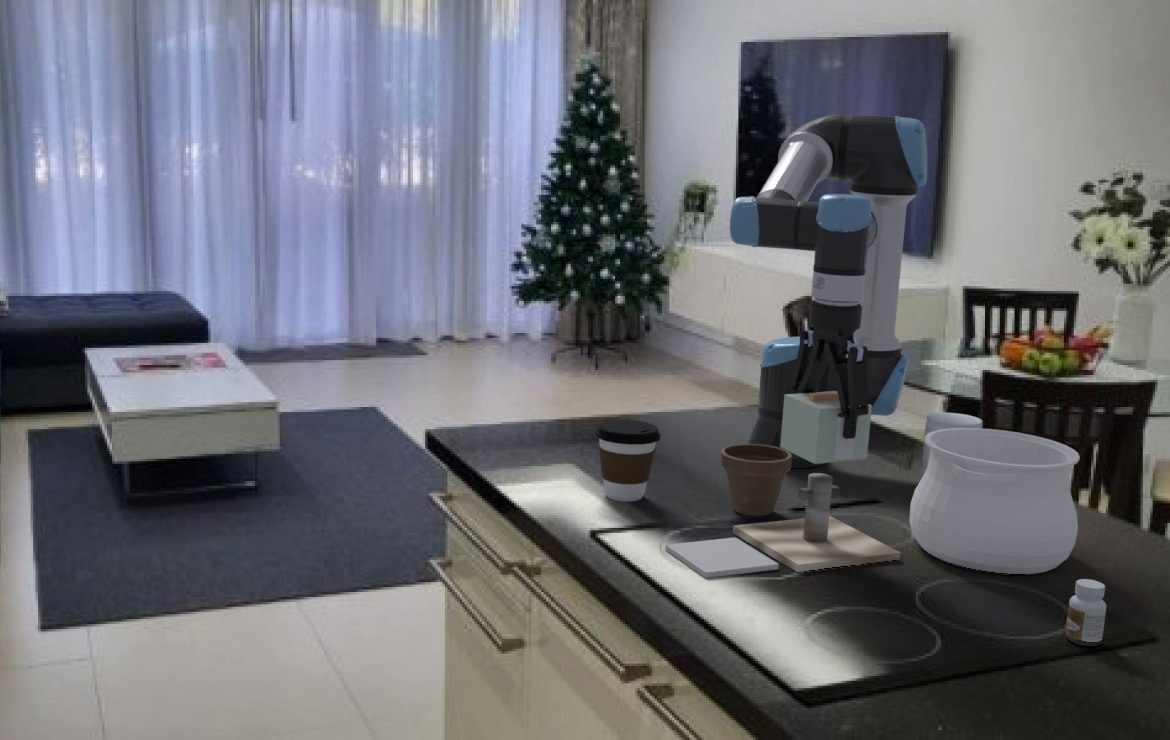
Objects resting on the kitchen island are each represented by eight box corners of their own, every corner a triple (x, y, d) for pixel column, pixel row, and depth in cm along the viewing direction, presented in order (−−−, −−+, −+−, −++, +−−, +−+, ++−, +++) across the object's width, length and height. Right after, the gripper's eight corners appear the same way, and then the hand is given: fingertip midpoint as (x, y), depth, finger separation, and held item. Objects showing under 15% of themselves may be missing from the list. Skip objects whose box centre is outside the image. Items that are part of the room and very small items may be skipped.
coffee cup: (670, 497, 215) (674, 428, 213) (627, 510, 207) (631, 438, 205) (621, 483, 223) (625, 415, 220) (578, 494, 215) (581, 424, 212)
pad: (665, 549, 189) (665, 544, 189) (735, 542, 194) (735, 537, 194) (705, 577, 179) (705, 572, 179) (778, 569, 184) (778, 563, 184)
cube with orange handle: (830, 442, 198) (835, 384, 196) (866, 459, 190) (872, 398, 188) (780, 447, 194) (785, 388, 192) (814, 463, 186) (820, 402, 184)
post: (732, 532, 199) (738, 464, 197) (829, 522, 206) (835, 457, 204) (797, 572, 183) (804, 498, 181) (899, 560, 190) (906, 489, 188)
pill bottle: (1058, 633, 165) (1066, 577, 164) (1091, 634, 166) (1099, 577, 164) (1074, 647, 161) (1081, 589, 160) (1107, 648, 162) (1115, 590, 160)
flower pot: (708, 515, 207) (713, 454, 205) (726, 496, 218) (730, 439, 216) (779, 526, 203) (784, 464, 201) (793, 507, 214) (798, 448, 212)
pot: (1051, 595, 179) (1066, 479, 176) (883, 556, 192) (894, 447, 188) (1088, 548, 200) (1102, 444, 197) (934, 516, 213) (945, 418, 210)
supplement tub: (986, 504, 221) (996, 422, 218) (949, 511, 216) (959, 427, 213) (943, 489, 229) (952, 409, 226) (906, 496, 224) (914, 414, 221)
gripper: (773, 290, 195) (762, 432, 200) (860, 315, 176) (846, 472, 181) (815, 289, 198) (803, 429, 203) (904, 313, 179) (889, 468, 184)
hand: (823, 449), depth 192 cm, fingers closed on cube with orange handle, 9 cm apart
